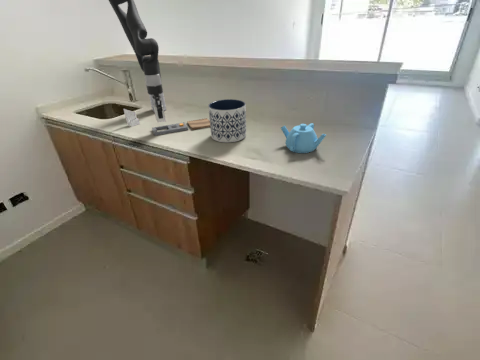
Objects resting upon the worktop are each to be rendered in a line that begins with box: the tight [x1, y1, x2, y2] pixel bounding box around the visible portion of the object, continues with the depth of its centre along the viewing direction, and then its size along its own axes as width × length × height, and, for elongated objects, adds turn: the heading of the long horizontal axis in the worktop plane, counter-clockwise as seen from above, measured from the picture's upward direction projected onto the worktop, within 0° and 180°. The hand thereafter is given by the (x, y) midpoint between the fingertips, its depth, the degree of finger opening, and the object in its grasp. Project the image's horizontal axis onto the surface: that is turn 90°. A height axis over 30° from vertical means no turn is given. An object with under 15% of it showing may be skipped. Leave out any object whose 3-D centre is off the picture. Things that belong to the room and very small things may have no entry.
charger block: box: [153, 105, 166, 123], centre depth 143 cm, size 4×4×9 cm
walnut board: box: [186, 117, 210, 131], centre depth 154 cm, size 12×12×1 cm
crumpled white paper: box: [123, 108, 141, 128], centre depth 156 cm, size 4×10×9 cm, turn 143°
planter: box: [207, 98, 247, 143], centre depth 135 cm, size 18×18×16 cm
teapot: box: [280, 122, 327, 154], centre depth 122 cm, size 15×17×11 cm
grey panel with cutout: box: [151, 122, 189, 136], centre depth 149 cm, size 9×18×2 cm, turn 113°
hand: (160, 116), depth 144 cm, fingers closed on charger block, 4 cm apart
